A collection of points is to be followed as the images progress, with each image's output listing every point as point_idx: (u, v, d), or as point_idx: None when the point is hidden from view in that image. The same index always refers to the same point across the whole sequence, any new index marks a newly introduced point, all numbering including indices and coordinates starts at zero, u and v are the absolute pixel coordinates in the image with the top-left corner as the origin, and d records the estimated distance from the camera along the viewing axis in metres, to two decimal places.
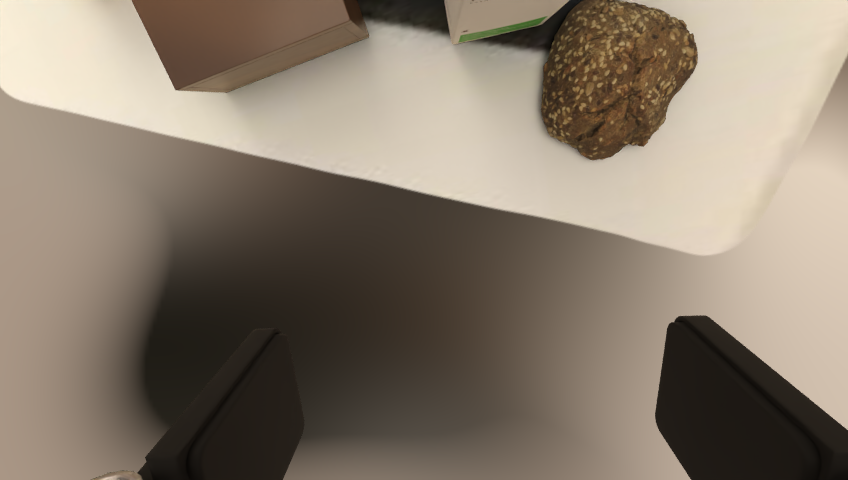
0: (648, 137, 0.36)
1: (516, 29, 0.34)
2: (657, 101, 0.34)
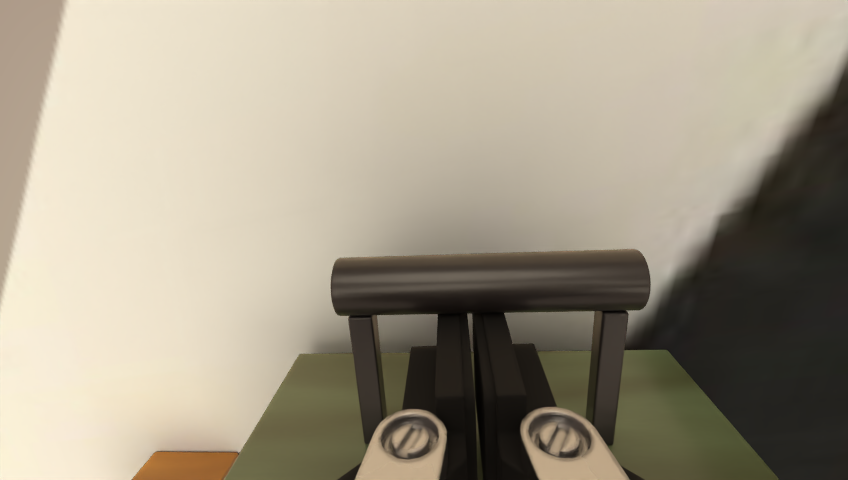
0: None
1: None
2: None
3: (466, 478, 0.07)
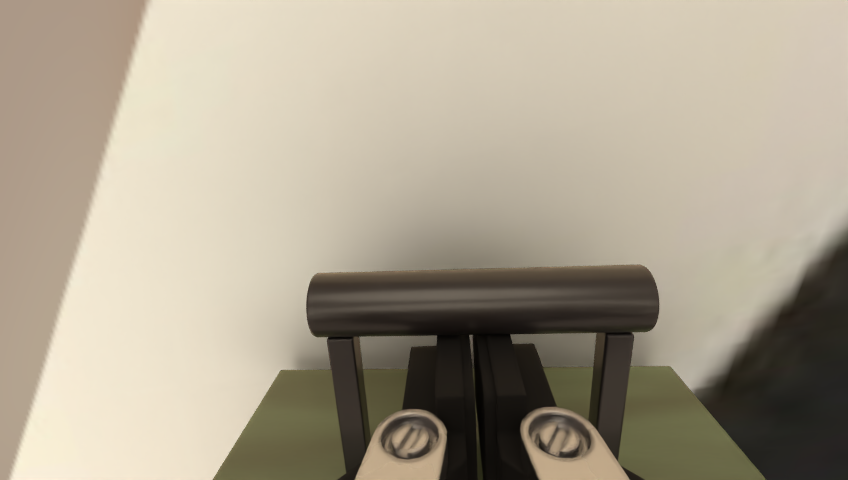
0: None
1: None
2: None
3: (466, 478, 0.07)
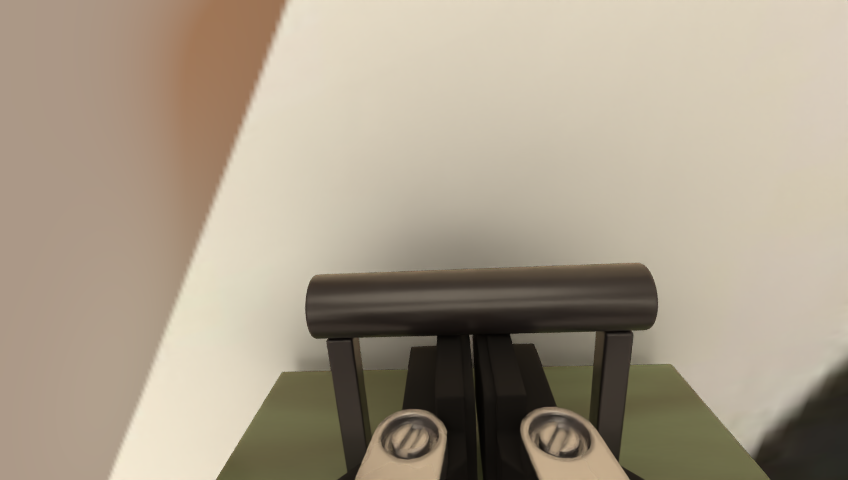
0: None
1: None
2: None
3: (466, 478, 0.07)
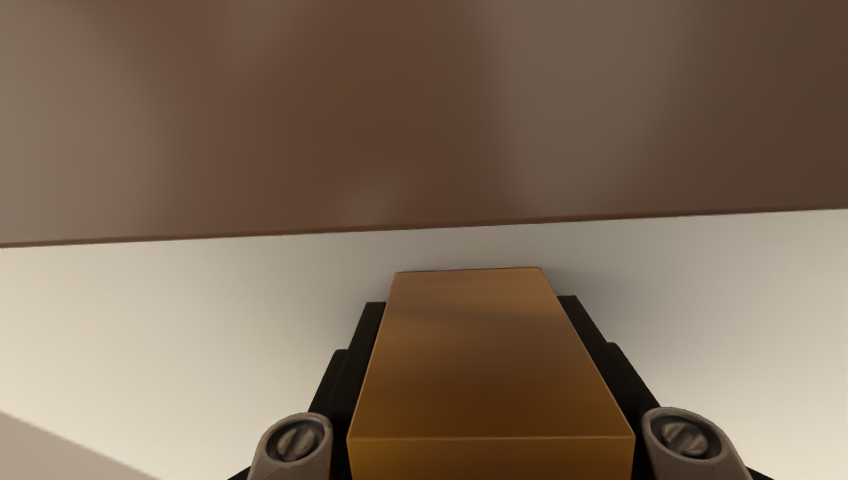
0: None
1: None
2: None
3: None
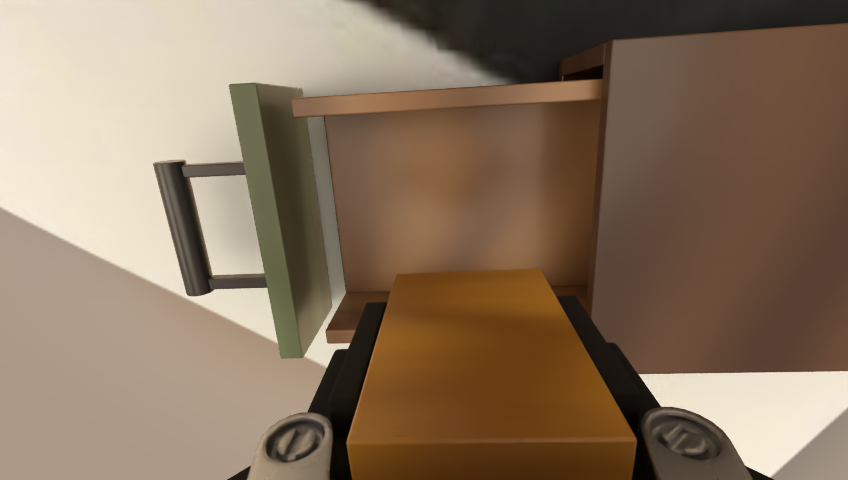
0: None
1: None
2: None
3: None
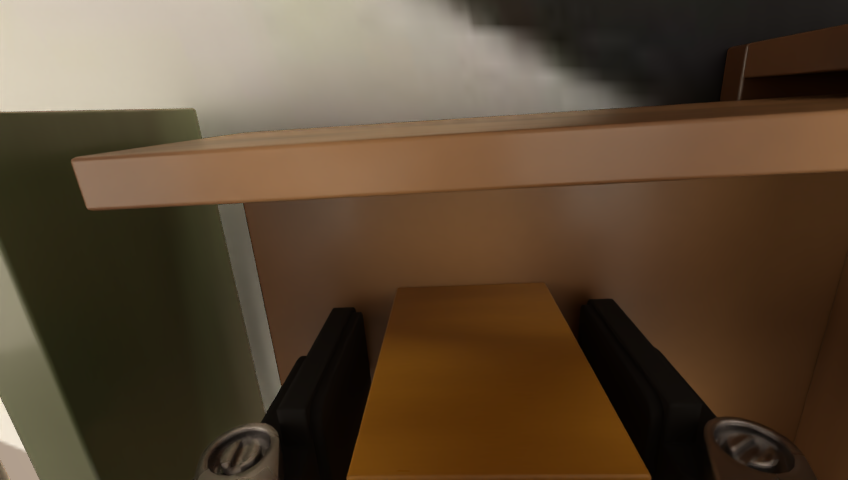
0: None
1: None
2: None
3: None
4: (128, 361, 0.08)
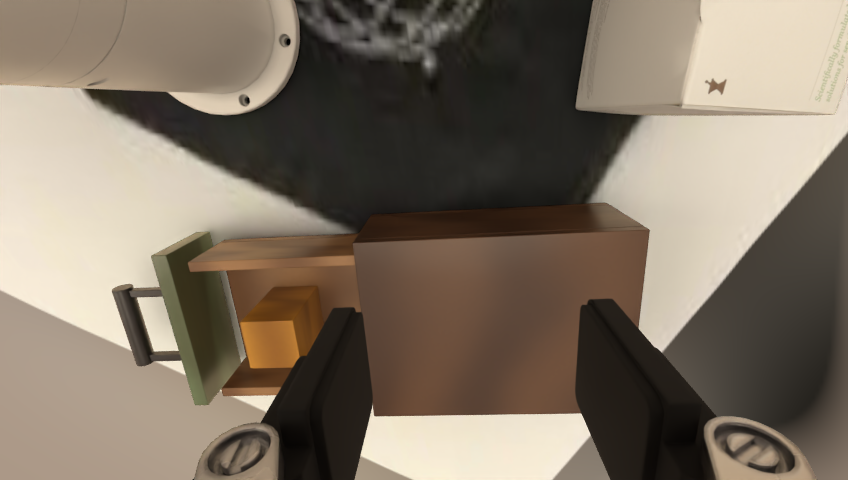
0: None
1: None
2: None
3: None
4: (193, 306, 0.33)
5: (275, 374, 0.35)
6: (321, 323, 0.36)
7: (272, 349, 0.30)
